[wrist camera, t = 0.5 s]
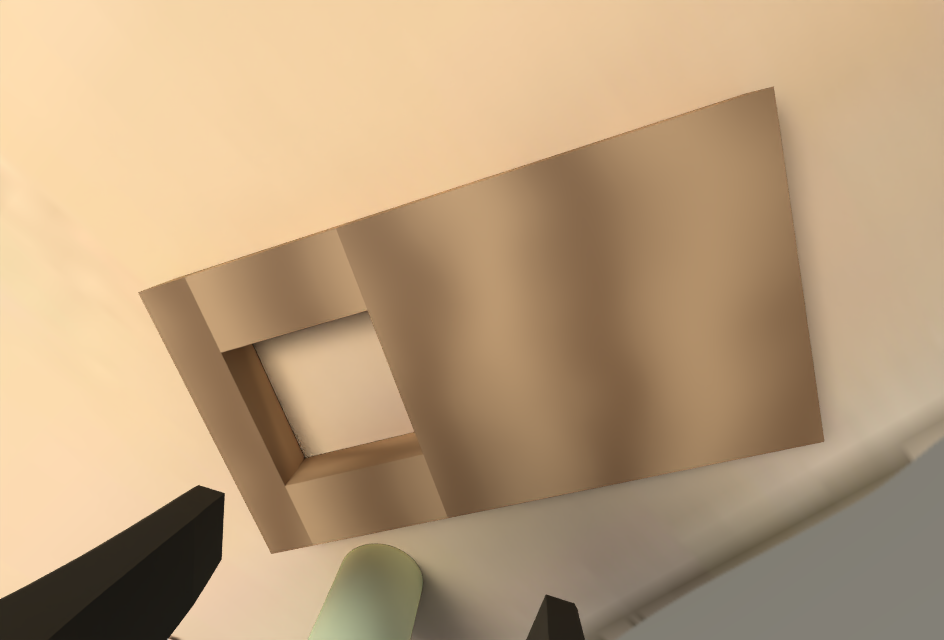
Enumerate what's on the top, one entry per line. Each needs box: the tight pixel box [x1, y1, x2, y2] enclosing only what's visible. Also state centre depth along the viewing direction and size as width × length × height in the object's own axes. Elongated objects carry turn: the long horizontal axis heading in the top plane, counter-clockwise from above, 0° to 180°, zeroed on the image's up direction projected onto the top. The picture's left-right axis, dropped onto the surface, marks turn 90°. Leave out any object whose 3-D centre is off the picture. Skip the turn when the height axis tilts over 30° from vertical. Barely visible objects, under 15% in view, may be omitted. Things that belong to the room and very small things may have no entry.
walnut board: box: [138, 87, 824, 554], centre depth 20 cm, size 22×12×2 cm, turn 107°
